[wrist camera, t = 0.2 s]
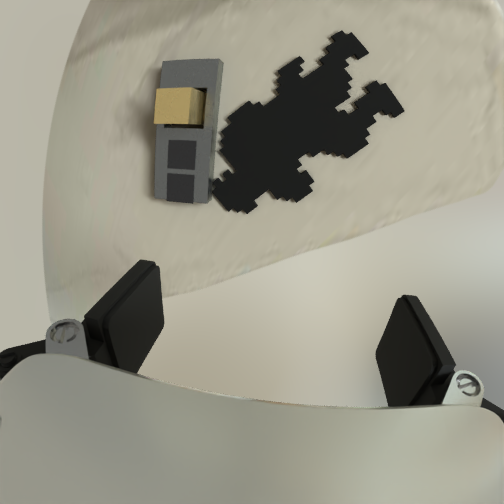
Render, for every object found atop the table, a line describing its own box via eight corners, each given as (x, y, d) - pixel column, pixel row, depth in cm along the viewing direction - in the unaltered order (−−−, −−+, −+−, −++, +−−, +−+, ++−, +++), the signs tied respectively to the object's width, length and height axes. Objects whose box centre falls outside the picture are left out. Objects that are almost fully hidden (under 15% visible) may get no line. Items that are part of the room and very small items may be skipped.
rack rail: (169, 64, 33) (162, 61, 31) (223, 62, 33) (219, 58, 30) (161, 195, 42) (154, 199, 39) (211, 200, 41) (206, 205, 39)
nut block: (177, 94, 35) (156, 88, 29) (207, 93, 35) (191, 87, 28) (175, 123, 37) (153, 123, 31) (205, 124, 37) (188, 123, 30)
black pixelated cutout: (345, 29, 28) (181, 151, 39) (346, 27, 28) (178, 152, 38) (413, 119, 32) (250, 234, 43) (416, 119, 31) (249, 236, 42)
